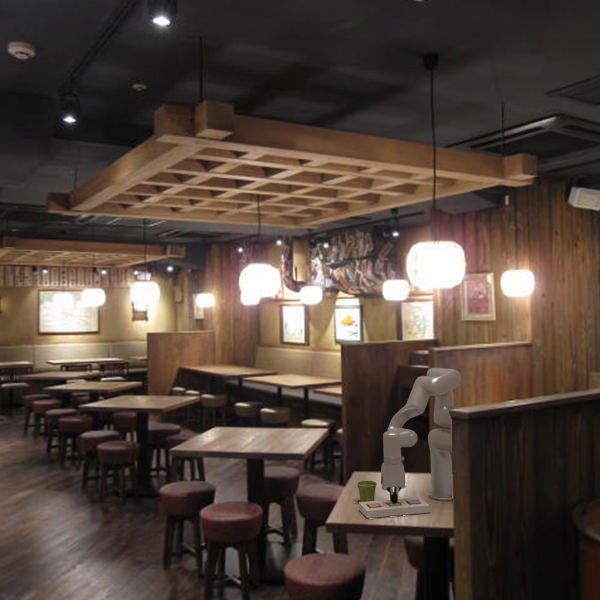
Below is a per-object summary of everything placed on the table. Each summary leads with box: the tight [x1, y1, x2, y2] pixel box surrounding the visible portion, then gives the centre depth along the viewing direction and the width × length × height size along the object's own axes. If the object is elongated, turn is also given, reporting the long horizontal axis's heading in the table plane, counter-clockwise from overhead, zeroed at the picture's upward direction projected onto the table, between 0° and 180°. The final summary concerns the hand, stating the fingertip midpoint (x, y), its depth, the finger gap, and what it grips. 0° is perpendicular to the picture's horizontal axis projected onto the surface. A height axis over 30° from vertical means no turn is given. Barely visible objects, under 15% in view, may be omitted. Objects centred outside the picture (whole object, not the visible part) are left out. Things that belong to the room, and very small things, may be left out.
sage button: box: [387, 502, 400, 507], centre depth 260 cm, size 4×4×3 cm
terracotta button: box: [367, 503, 380, 508], centre depth 258 cm, size 4×4×3 cm
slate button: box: [407, 500, 420, 505], centre depth 262 cm, size 4×4×3 cm
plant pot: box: [356, 480, 378, 502], centre depth 274 cm, size 9×9×9 cm
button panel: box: [358, 496, 431, 520], centre depth 260 cm, size 28×12×4 cm, turn 101°
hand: (394, 502), depth 260 cm, fingers closed
